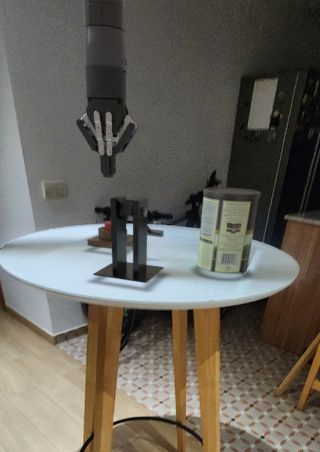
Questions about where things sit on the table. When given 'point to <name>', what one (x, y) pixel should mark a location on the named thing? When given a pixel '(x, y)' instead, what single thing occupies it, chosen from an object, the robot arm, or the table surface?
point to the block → (106, 239)
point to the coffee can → (227, 229)
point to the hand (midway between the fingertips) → (108, 177)
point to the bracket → (119, 244)
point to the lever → (127, 214)
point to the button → (107, 225)
